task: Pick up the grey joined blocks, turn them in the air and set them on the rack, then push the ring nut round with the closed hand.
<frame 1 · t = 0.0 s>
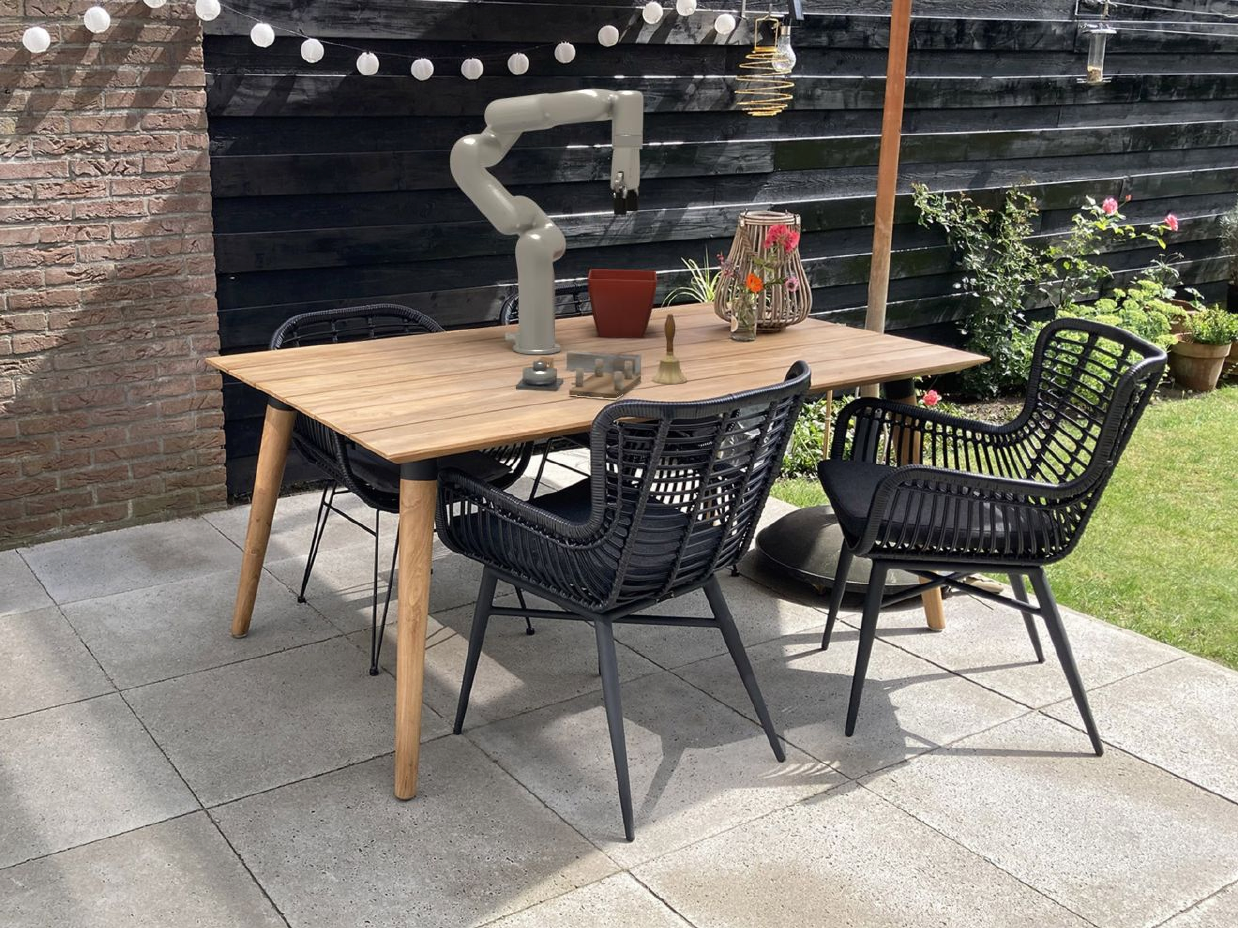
hand: (625, 213, 313), 37 cm above the table, tool pointing down, fingers open, 9 cm apart
hand bell: (669, 381, 298), on the table
plant pot: (621, 334, 354), on the table
grey joined blocks: (605, 372, 305), on the table
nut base: (539, 385, 291), on the table
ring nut: (542, 368, 293), point 3 cm above the table, hinge at 0.0°
rack: (605, 389, 288), on the table
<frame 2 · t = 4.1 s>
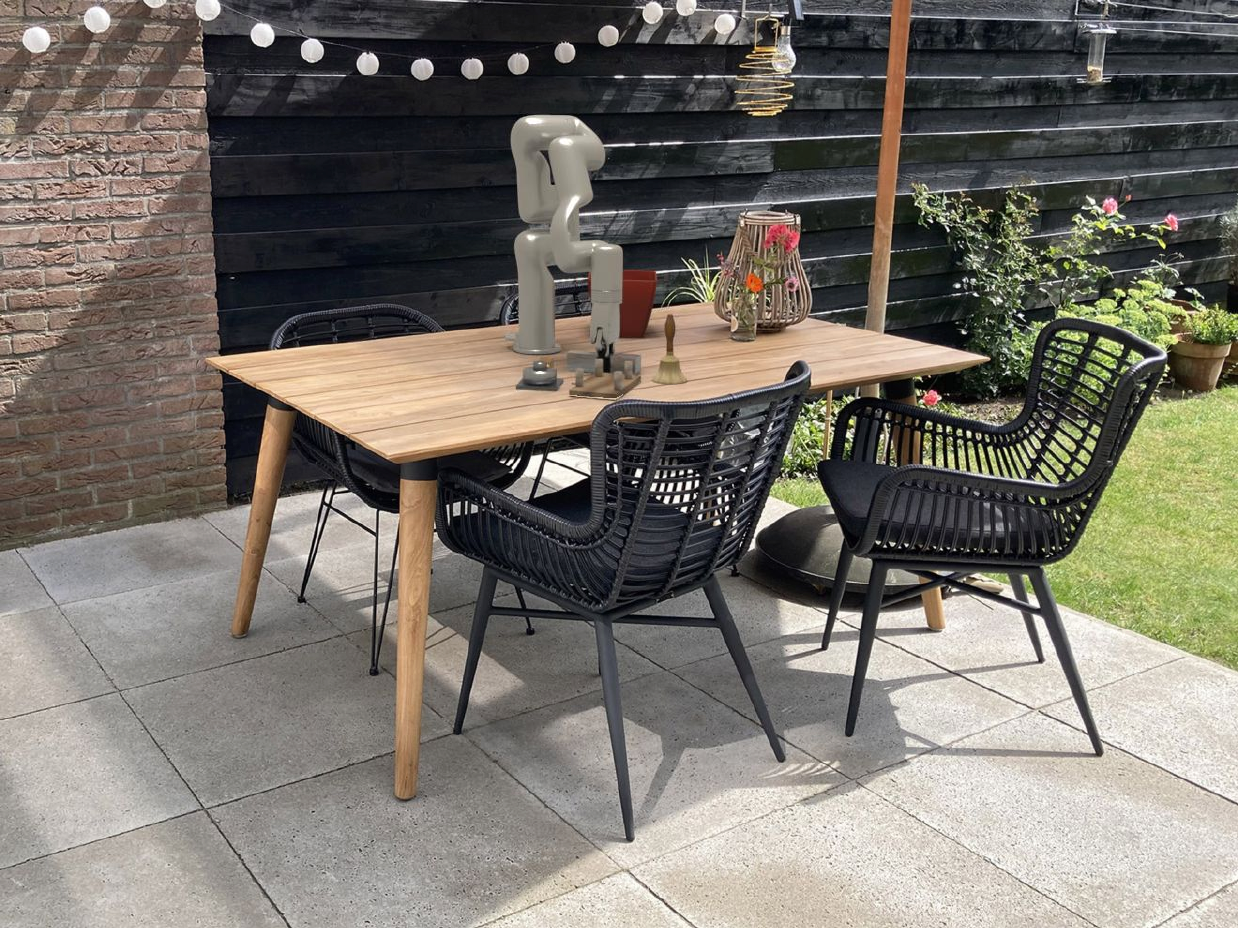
hand: (605, 370, 305), 0 cm above the table, tool pointing down, fingers closed on grey joined blocks, 3 cm apart
grey joined blocks: (605, 372, 305), on the table, touching gripper
everything else where it was.
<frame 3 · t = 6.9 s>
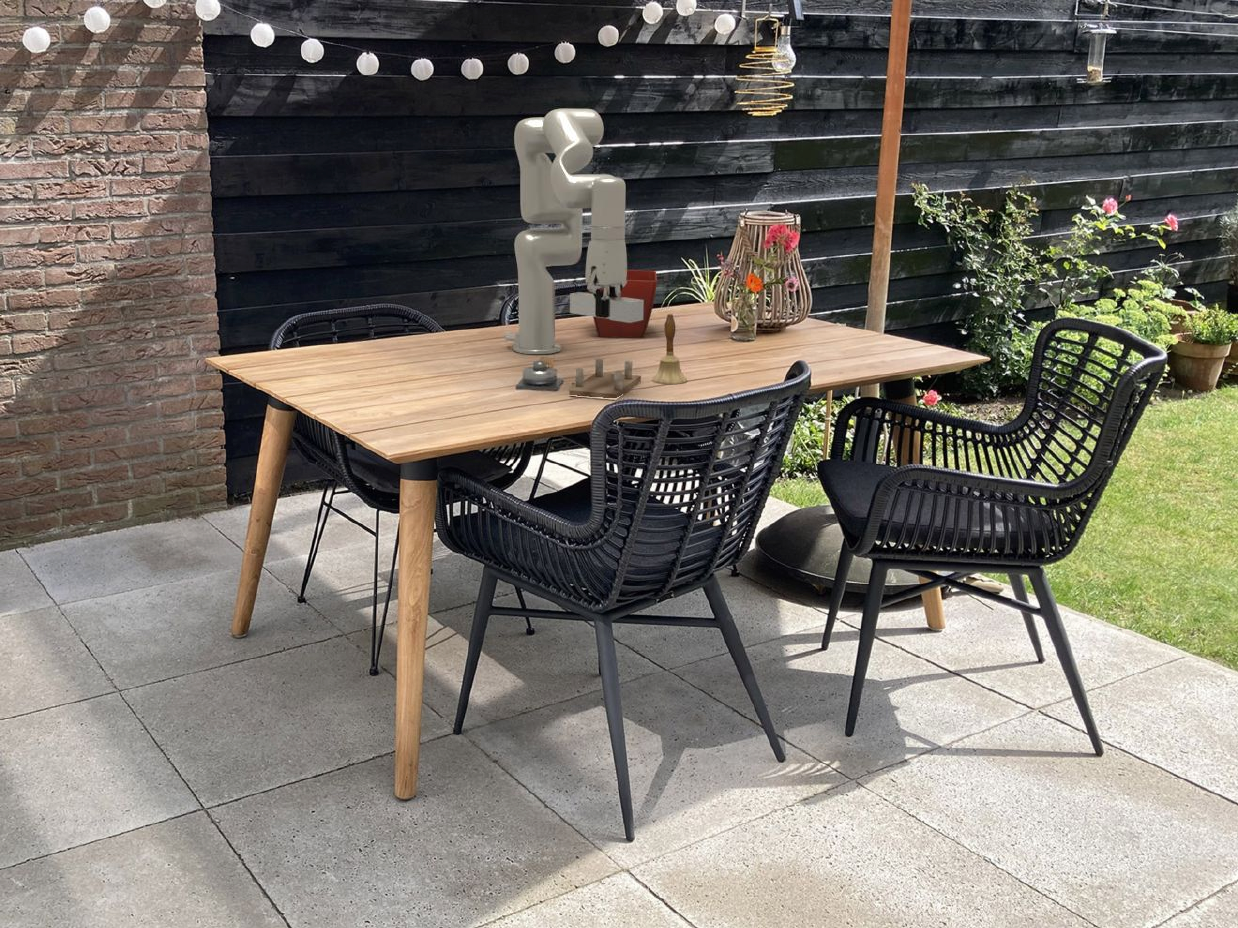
hand: (606, 315, 283), 17 cm above the table, tool pointing down, fingers closed on grey joined blocks, 3 cm apart
grey joined blocks: (607, 317, 284), point 17 cm above the table, touching gripper
everything else where it was.
when the fingers open (3 cm above the table, at t = 9.5 s): grey joined blocks drops 2 cm, resting on rack.
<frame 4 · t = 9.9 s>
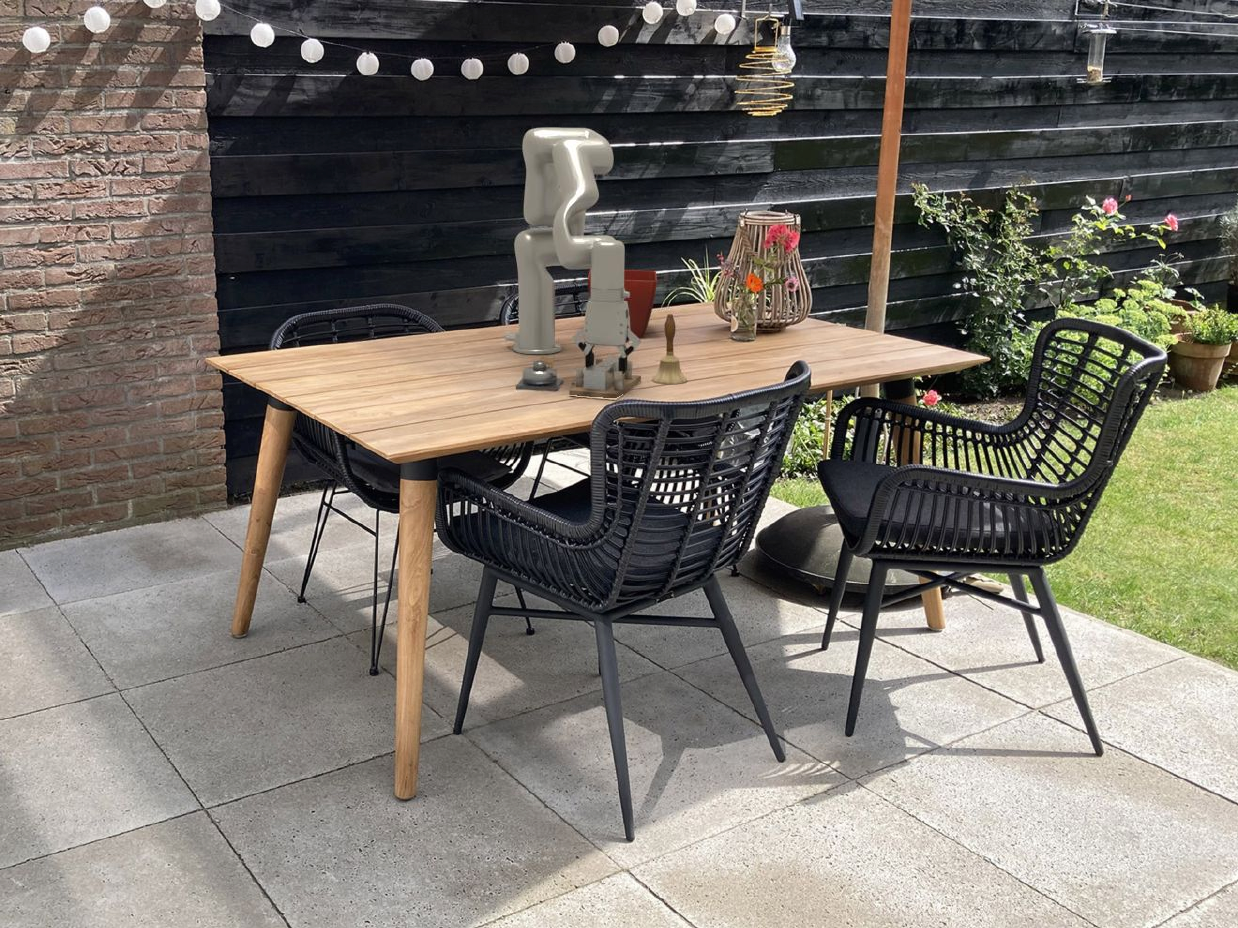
hand: (606, 371, 287), 4 cm above the table, tool pointing down, fingers open, 7 cm apart
grey joined blocks: (605, 382, 288), point 1 cm above the table, touching rack
everything else where it was.
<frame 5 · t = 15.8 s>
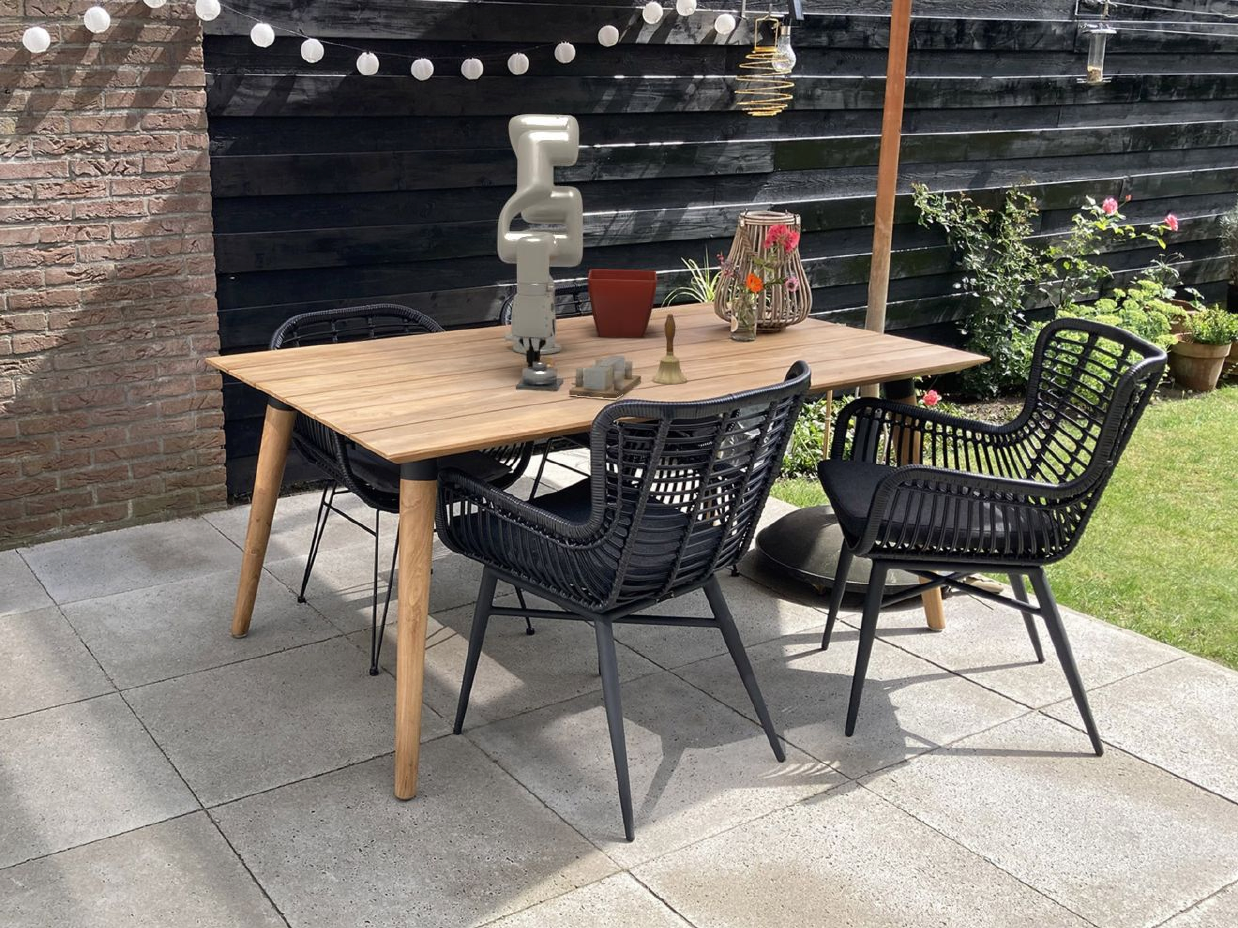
hand: (533, 366, 298), 3 cm above the table, tool pointing down, fingers closed
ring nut: (542, 368, 293), point 3 cm above the table, hinge at 1.8°, touching gripper
everything else where it was.
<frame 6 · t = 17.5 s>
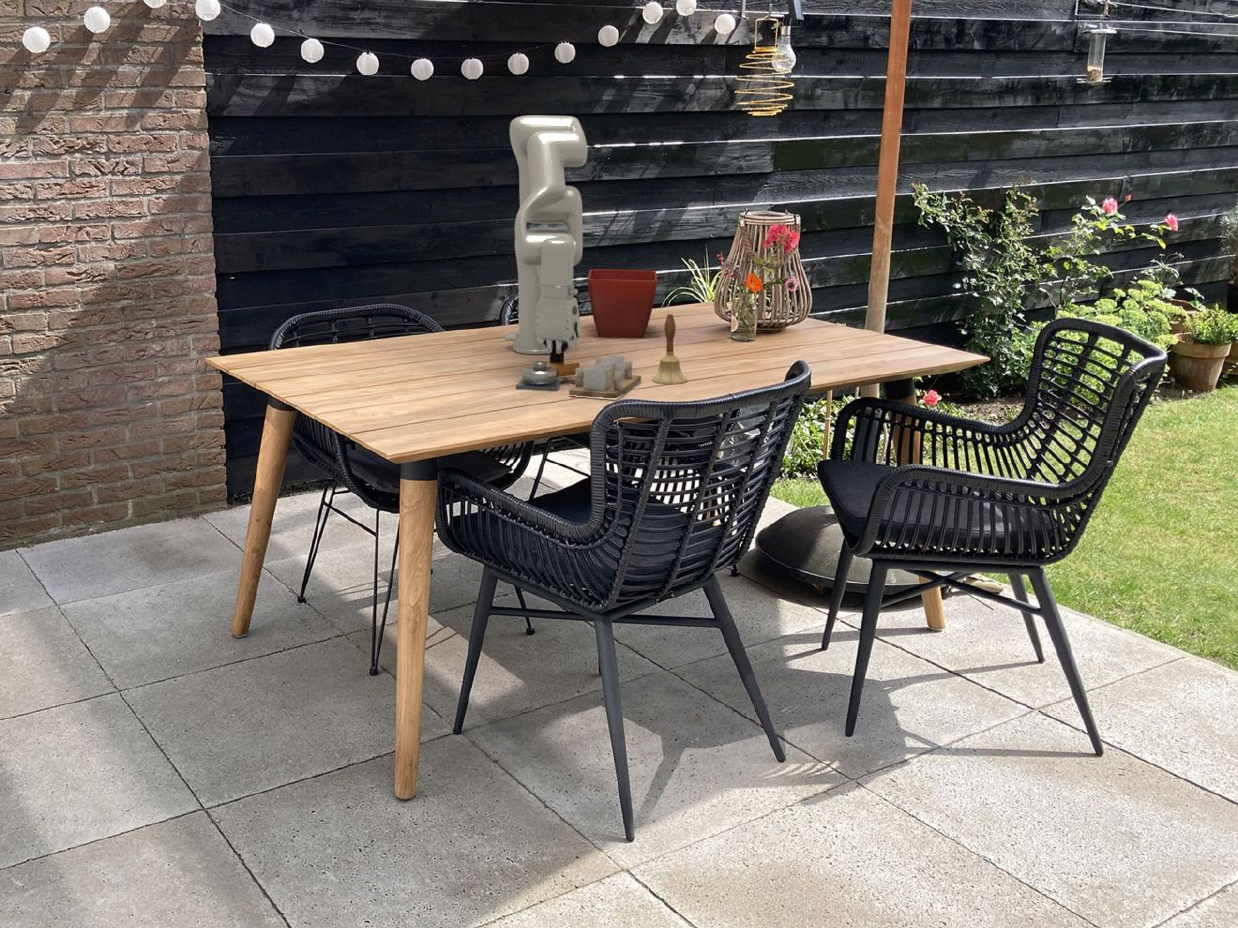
hand: (556, 368, 296), 3 cm above the table, tool pointing down, fingers closed
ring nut: (550, 369, 291), point 3 cm above the table, hinge at 48.0°, touching gripper
everything else where it was.
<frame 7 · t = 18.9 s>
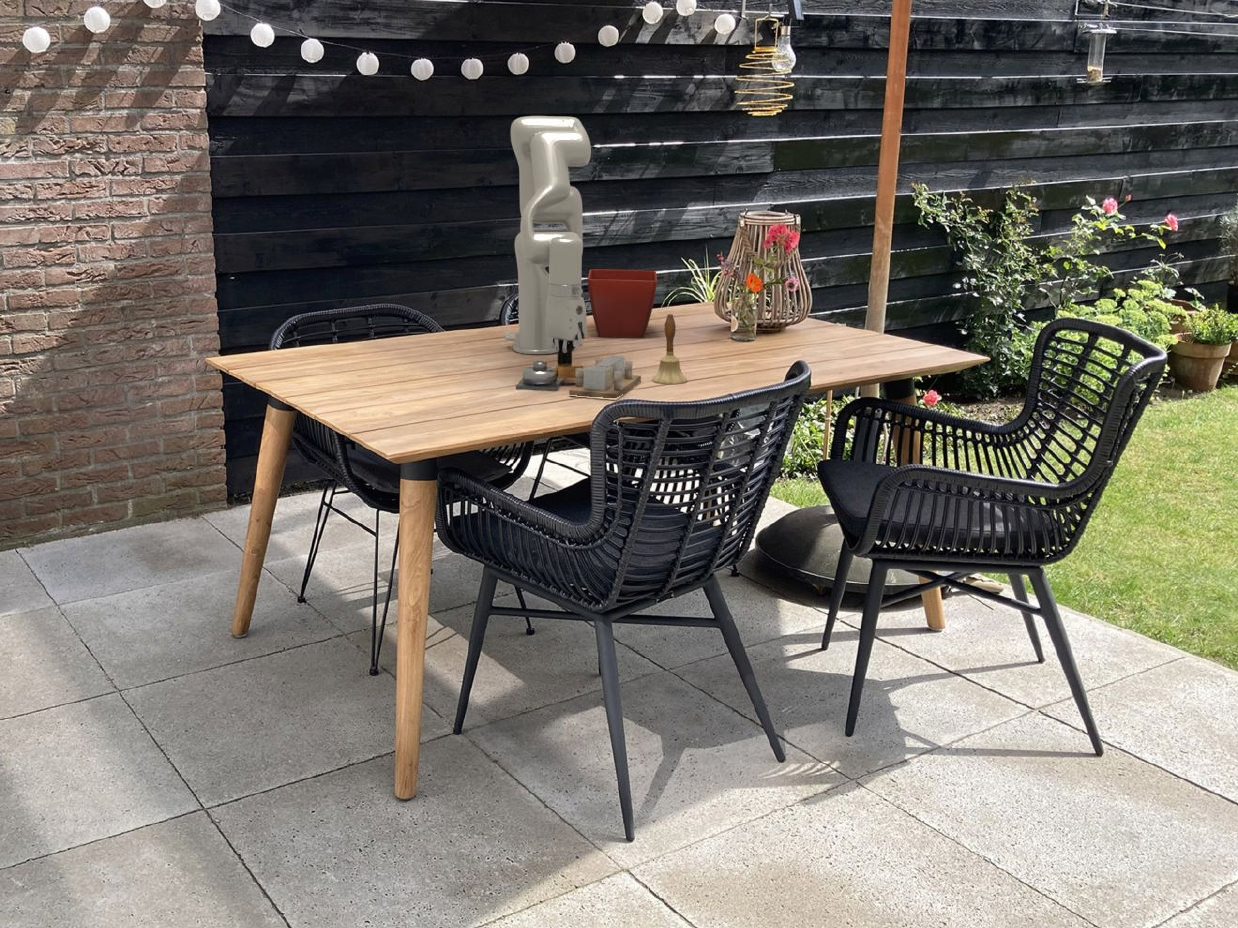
hand: (564, 367, 295), 3 cm above the table, tool pointing down, fingers closed
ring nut: (552, 370, 290), point 3 cm above the table, hinge at 69.4°
everything else where it was.
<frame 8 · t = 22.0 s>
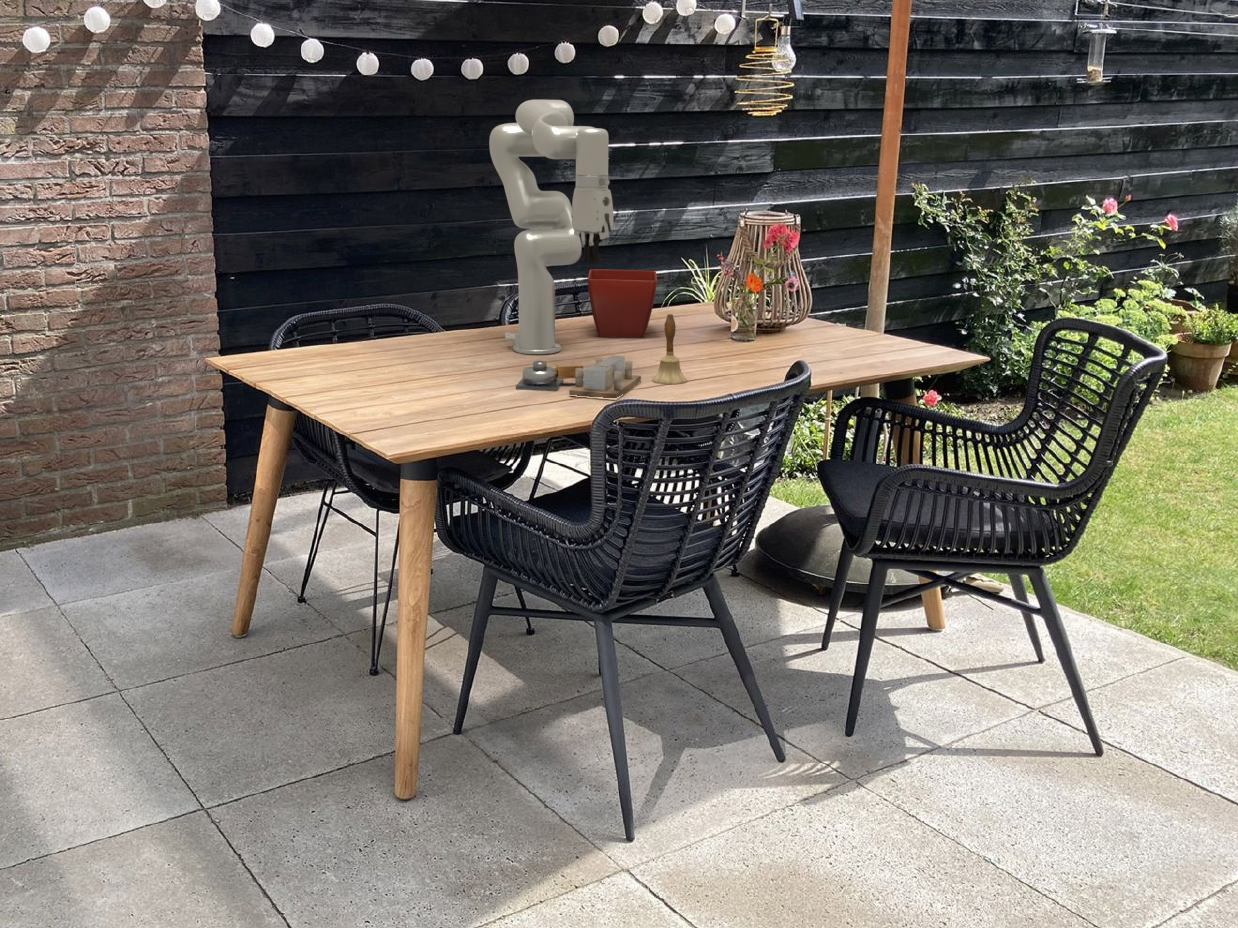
hand: (591, 262, 296), 27 cm above the table, tool pointing down, fingers closed
nothing on the table moved.
at the end: grey joined blocks 0.1 cm off-centre on the rack, point 1.5 cm above the rack's base; grey joined blocks tilted 0°; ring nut at +70° (first picture: +0°) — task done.
